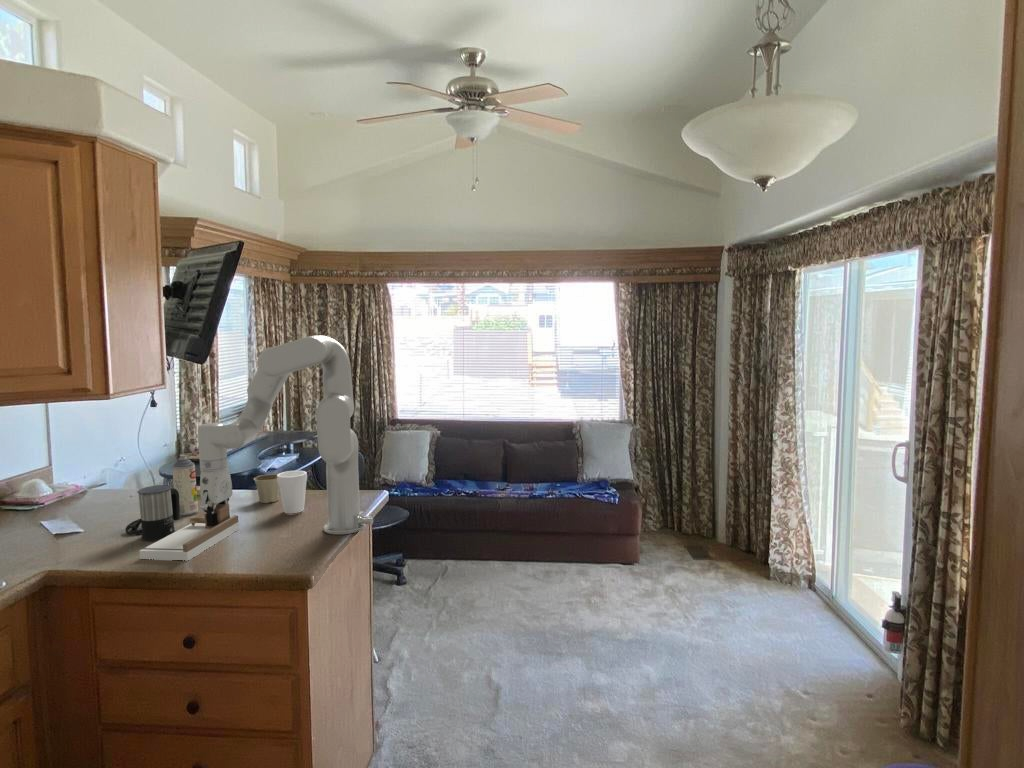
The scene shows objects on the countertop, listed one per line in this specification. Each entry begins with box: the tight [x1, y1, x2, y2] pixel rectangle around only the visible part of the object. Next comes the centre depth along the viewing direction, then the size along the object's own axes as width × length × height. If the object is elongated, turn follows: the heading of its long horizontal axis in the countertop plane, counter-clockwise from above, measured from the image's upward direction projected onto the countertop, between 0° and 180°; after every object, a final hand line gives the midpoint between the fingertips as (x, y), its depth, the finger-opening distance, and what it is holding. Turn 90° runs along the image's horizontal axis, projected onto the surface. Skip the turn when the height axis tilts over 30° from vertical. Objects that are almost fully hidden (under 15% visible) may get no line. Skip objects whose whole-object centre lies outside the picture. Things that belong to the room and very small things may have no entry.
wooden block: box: [189, 503, 231, 529], centre depth 199 cm, size 11×5×6 cm, turn 83°
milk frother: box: [124, 484, 181, 542], centre depth 199 cm, size 14×16×15 cm
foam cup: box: [277, 470, 308, 514], centre depth 220 cm, size 10×9×13 cm
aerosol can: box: [172, 454, 199, 517], centre depth 220 cm, size 7×7×20 cm
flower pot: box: [253, 473, 280, 504], centre depth 234 cm, size 9×9×9 cm
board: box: [139, 514, 240, 562], centre depth 190 cm, size 14×26×4 cm, turn 173°
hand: (217, 522), depth 198 cm, fingers closed on wooden block, 5 cm apart
